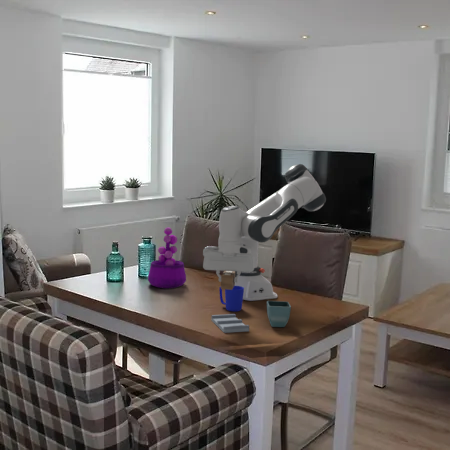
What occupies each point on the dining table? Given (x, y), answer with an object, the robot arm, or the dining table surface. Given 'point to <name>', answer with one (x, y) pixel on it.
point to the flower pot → (278, 313)
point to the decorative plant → (167, 266)
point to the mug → (233, 298)
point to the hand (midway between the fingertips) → (228, 281)
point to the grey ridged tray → (229, 323)
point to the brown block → (227, 280)
